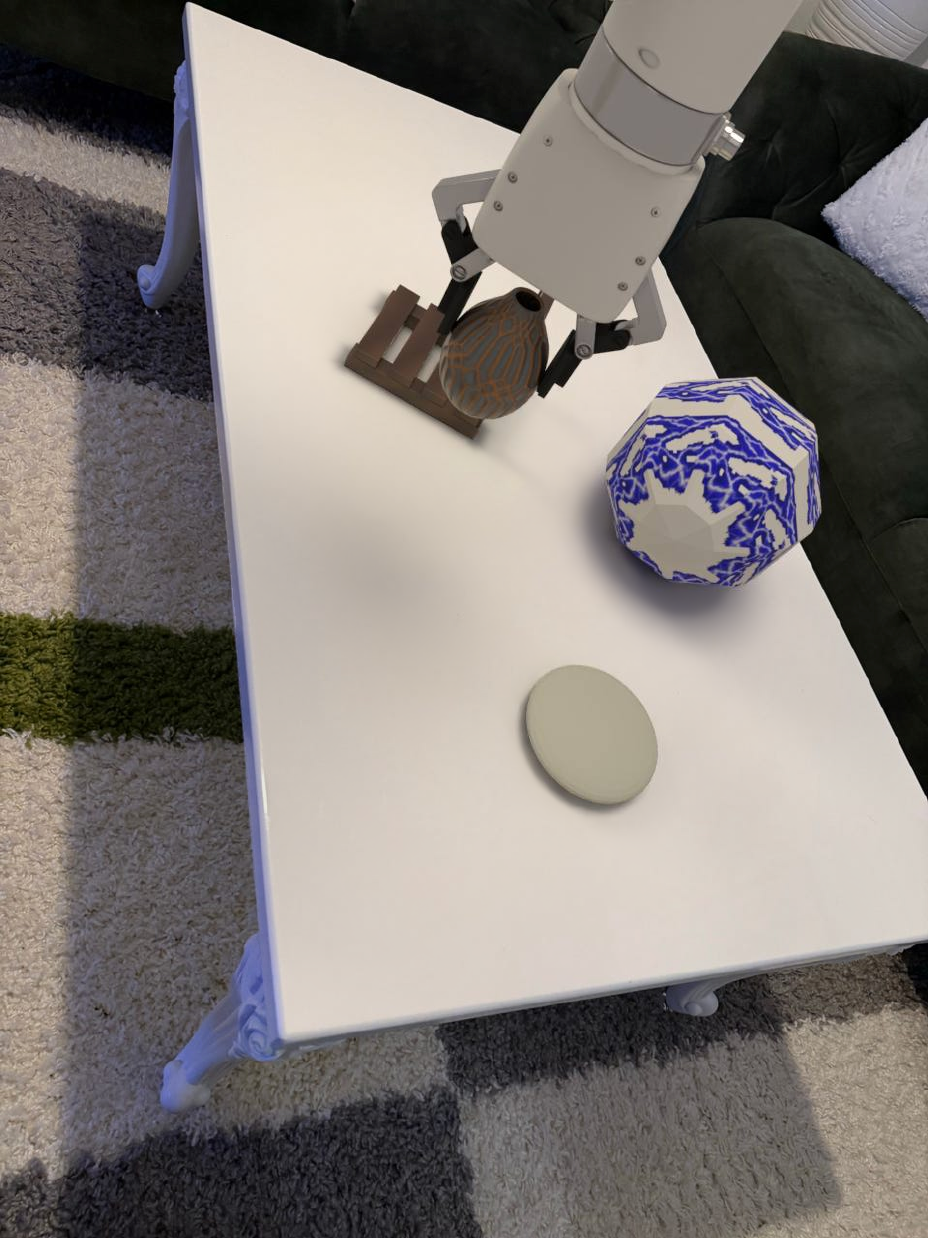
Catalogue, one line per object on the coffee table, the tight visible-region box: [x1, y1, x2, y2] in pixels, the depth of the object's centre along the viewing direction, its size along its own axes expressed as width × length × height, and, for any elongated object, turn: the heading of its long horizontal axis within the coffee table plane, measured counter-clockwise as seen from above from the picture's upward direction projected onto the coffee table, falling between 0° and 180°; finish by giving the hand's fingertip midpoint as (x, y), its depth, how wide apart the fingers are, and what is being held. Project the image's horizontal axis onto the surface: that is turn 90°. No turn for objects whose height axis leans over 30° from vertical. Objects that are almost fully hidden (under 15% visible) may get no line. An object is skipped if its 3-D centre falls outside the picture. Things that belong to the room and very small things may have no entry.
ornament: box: [604, 376, 822, 588], centre depth 82 cm, size 20×20×20 cm
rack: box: [343, 283, 556, 440], centre depth 82 cm, size 14×12×15 cm
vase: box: [439, 286, 550, 420], centre depth 58 cm, size 7×7×9 cm
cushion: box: [525, 664, 659, 805], centre depth 71 cm, size 12×12×3 cm
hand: (497, 353), depth 58 cm, fingers closed on vase, 6 cm apart
